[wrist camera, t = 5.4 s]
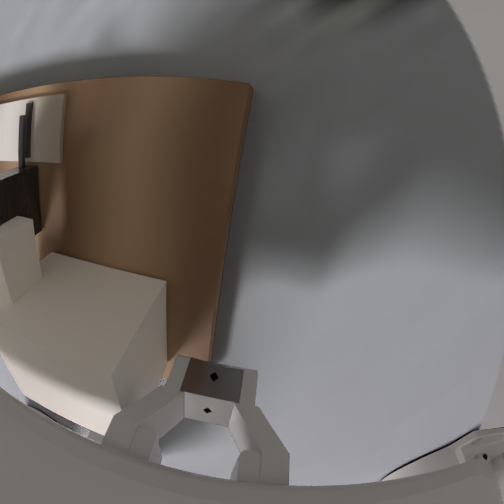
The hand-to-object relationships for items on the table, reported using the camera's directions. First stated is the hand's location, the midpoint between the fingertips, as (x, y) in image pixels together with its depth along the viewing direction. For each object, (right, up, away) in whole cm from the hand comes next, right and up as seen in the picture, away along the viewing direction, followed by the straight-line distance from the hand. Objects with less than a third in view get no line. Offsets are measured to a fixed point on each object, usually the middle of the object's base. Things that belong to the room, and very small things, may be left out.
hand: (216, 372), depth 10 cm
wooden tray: (-13, +7, +2) cm, 14 cm away
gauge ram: (-6, +3, +1) cm, 7 cm away
